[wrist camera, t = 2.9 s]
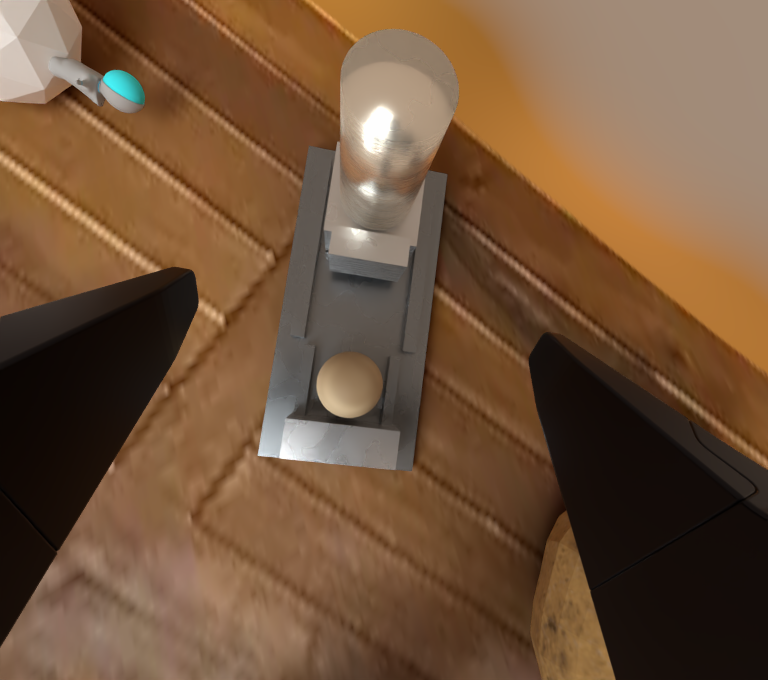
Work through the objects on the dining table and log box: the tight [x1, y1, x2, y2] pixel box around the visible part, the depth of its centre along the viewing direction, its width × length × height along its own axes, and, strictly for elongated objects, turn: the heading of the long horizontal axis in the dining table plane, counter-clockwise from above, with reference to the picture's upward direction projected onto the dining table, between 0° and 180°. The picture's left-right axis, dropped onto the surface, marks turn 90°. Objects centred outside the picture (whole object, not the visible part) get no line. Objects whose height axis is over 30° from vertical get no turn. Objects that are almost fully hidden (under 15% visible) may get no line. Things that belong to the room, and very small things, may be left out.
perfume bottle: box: [0, 0, 145, 113], centre depth 18 cm, size 8×8×12 cm
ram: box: [324, 29, 459, 282], centre depth 17 cm, size 6×5×10 cm
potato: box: [530, 511, 615, 680], centre depth 19 cm, size 10×14×8 cm
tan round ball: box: [316, 352, 383, 418], centre depth 19 cm, size 4×4×4 cm
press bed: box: [258, 146, 447, 471], centre depth 21 cm, size 19×9×4 cm, turn 172°
